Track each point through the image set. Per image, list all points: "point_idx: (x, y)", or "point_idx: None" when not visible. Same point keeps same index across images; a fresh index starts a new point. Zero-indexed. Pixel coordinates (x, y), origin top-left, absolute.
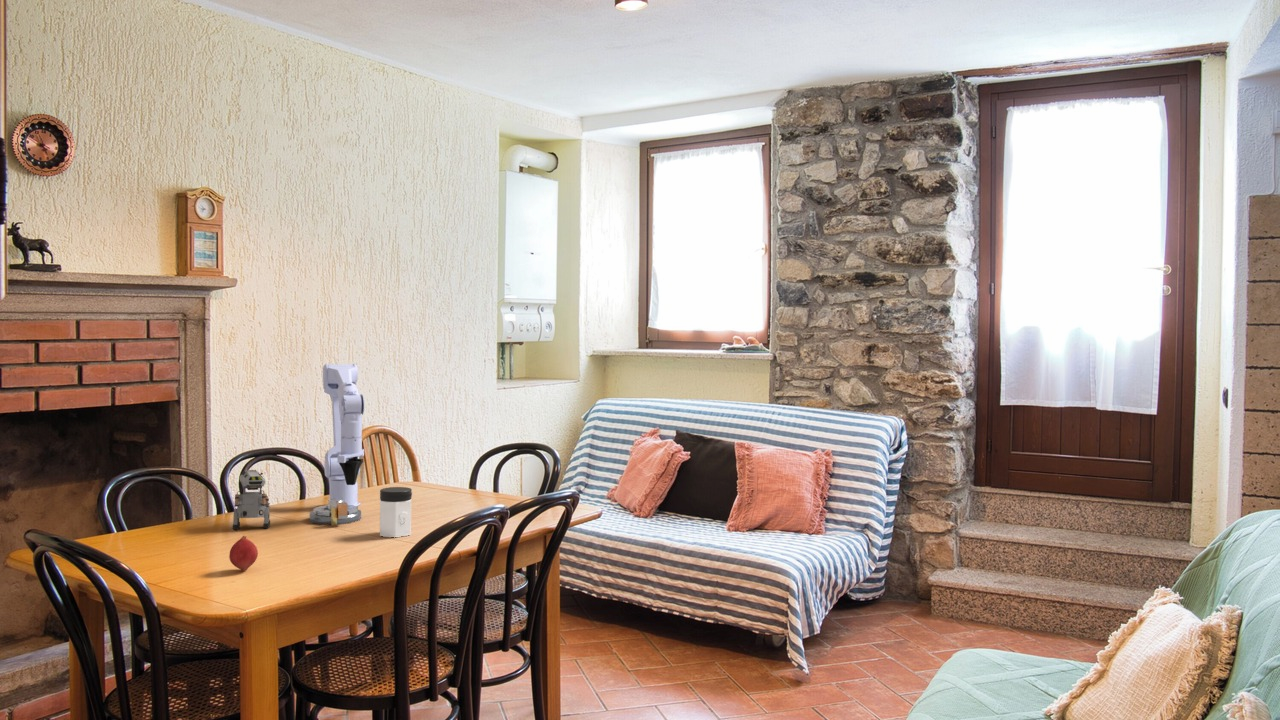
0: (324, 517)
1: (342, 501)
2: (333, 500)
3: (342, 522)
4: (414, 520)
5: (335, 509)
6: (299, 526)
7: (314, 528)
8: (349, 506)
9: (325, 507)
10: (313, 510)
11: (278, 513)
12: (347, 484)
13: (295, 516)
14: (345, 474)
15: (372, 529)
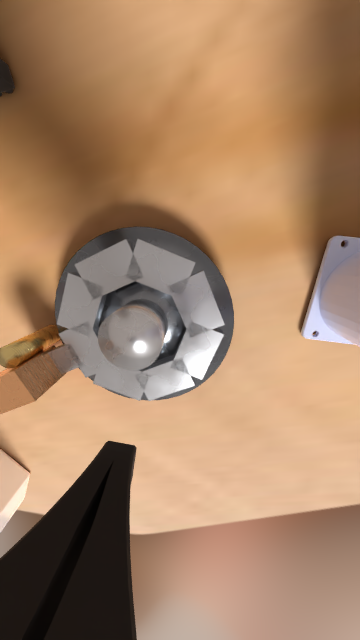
0: (55, 305)
1: (126, 367)
2: (124, 333)
3: None
4: (144, 497)
5: (3, 362)
6: (32, 223)
7: (14, 282)
8: (176, 370)
9: (155, 285)
10: (119, 243)
11: (285, 21)
12: (105, 446)
13: (206, 146)
14: (54, 515)
15: (34, 428)
